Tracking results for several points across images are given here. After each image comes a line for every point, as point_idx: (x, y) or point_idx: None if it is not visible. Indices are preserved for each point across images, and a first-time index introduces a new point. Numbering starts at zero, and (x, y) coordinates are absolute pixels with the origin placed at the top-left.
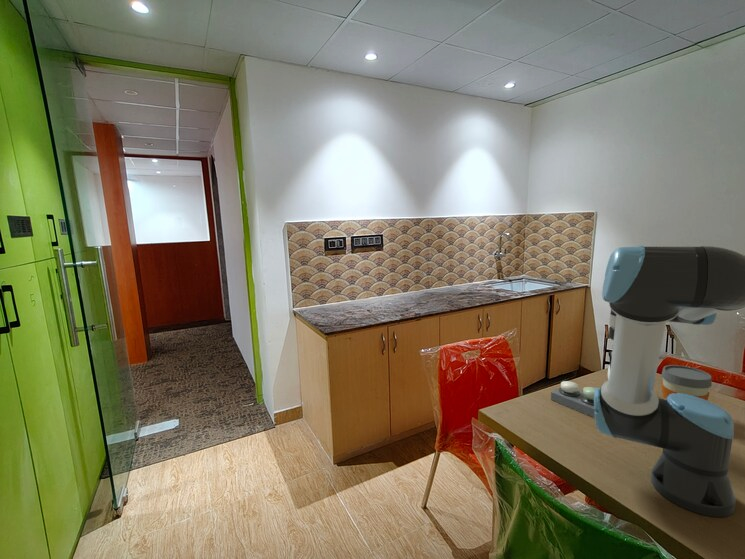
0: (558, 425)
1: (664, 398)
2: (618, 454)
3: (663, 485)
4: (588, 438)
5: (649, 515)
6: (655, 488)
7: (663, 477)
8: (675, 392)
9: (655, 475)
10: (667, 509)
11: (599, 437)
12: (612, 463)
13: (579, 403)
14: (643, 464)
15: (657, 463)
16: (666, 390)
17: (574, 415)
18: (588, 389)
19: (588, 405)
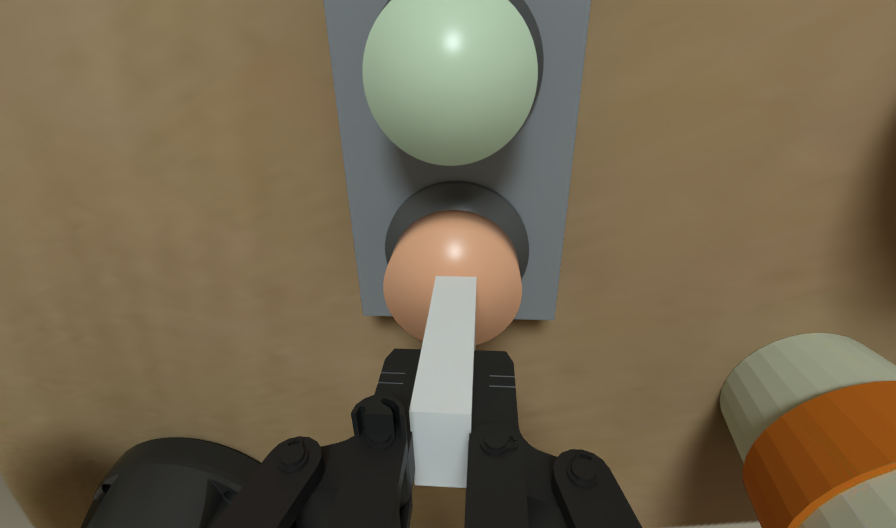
0: (59, 44)
1: (832, 385)
2: (167, 343)
3: (93, 500)
4: (136, 222)
5: (15, 469)
6: (121, 456)
7: (85, 517)
8: (788, 524)
9: (111, 481)
10: (83, 484)
11: (198, 249)
12: (93, 350)
13: (327, 23)
14: (202, 407)
15: (103, 513)
16: (825, 471)
17: (265, 36)
18: (437, 38)
19: (358, 91)
